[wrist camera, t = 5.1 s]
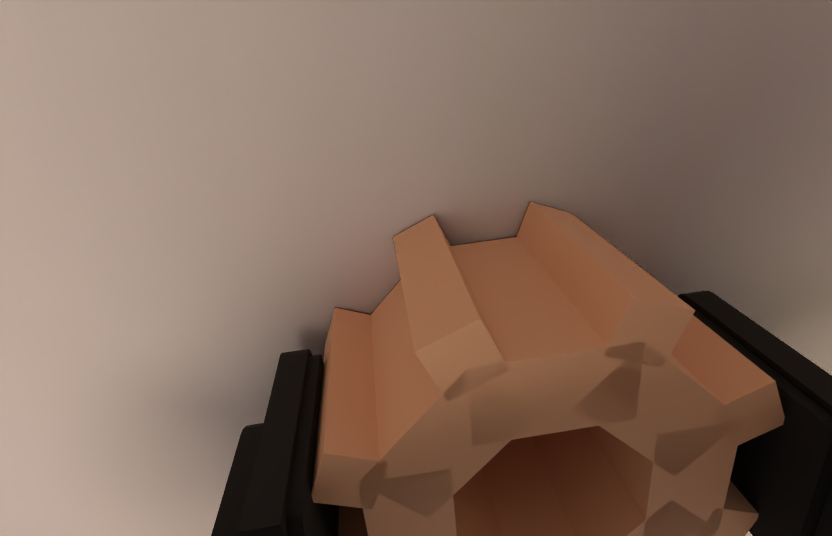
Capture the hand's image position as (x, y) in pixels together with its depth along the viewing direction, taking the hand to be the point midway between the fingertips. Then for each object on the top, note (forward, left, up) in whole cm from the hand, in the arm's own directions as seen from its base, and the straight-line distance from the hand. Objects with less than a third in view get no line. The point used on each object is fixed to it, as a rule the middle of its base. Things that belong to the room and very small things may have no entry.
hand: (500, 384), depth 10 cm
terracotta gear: (0, 0, -1) cm, 1 cm away
